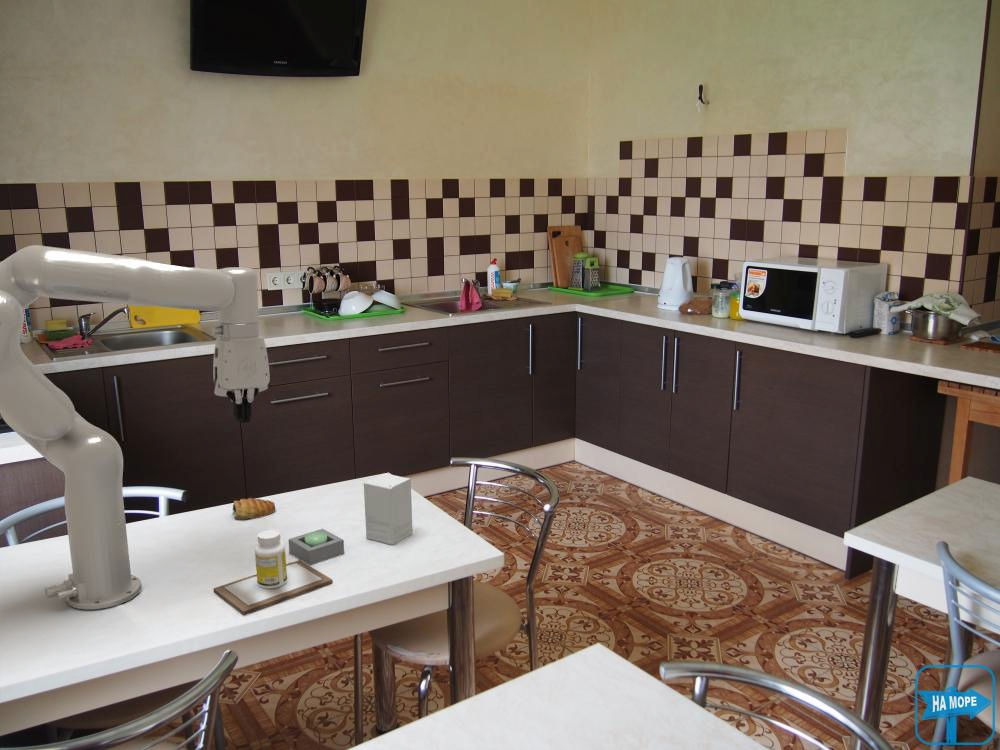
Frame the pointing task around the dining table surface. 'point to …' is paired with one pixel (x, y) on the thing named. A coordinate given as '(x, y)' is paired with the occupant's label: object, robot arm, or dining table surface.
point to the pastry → (252, 508)
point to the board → (253, 597)
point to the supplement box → (388, 508)
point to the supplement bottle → (270, 560)
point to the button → (315, 538)
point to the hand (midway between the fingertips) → (242, 421)
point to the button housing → (316, 548)
